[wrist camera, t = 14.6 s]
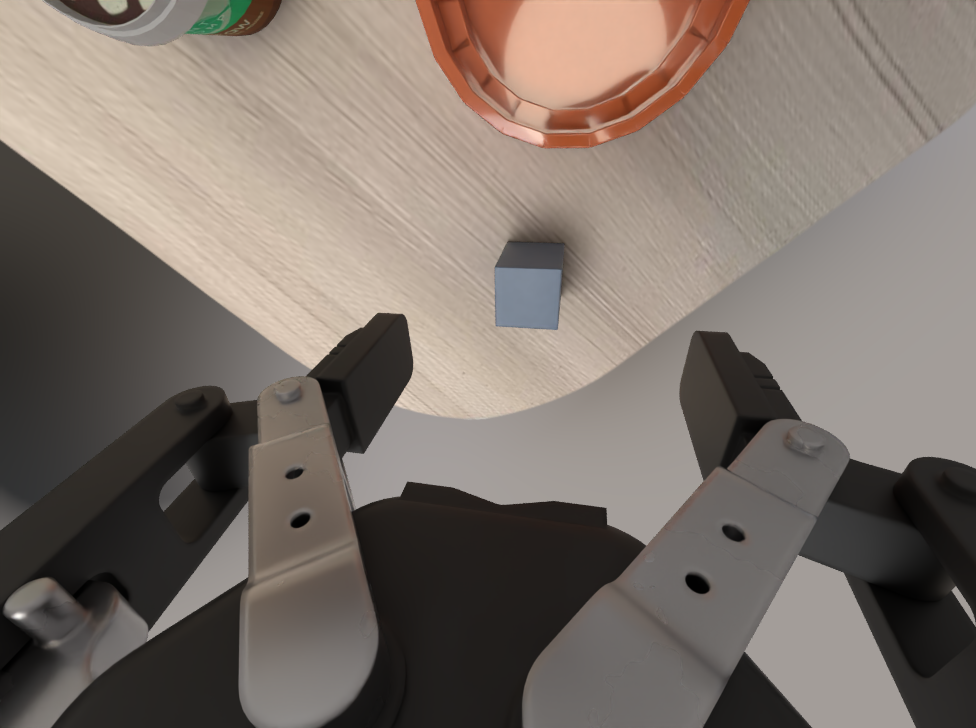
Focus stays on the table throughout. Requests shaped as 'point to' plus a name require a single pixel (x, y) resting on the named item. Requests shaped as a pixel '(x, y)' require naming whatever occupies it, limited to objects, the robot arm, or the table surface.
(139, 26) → the food container
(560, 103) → the bowl
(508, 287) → the block
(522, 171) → the table surface
